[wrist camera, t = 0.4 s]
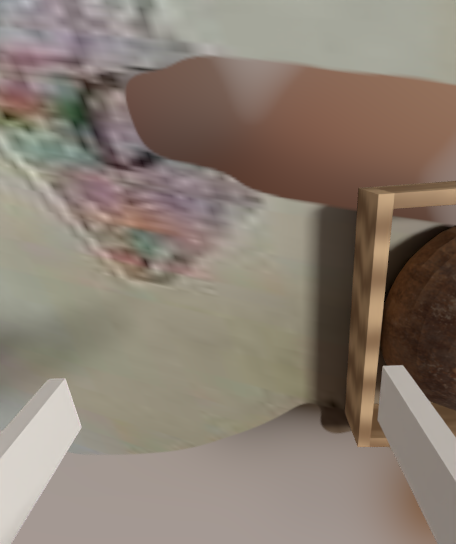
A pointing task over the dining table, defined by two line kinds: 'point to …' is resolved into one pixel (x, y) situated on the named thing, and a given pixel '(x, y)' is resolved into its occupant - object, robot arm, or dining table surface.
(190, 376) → the dining table surface
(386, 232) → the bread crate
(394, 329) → the bread
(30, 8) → the dining table surface
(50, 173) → the dining table surface
